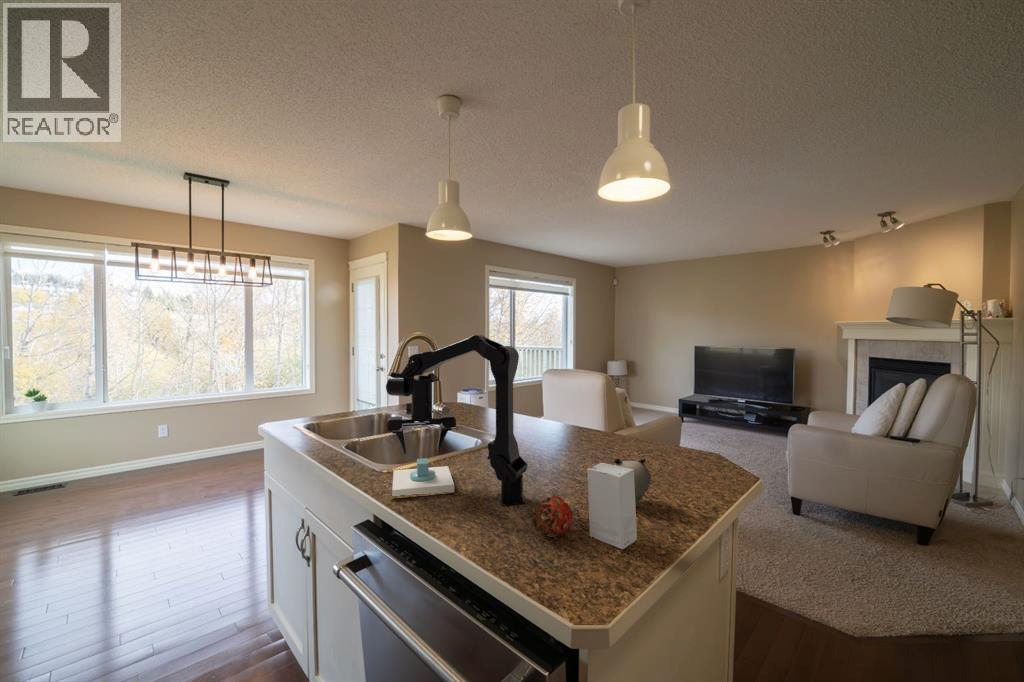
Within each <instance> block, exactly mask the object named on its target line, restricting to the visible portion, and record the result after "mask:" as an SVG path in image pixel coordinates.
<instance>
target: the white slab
mask: <svg viewBox="0 0 1024 682" xmlns="http://www.w3.org/2000/svg"><path fill="white" fill-rule="evenodd" d="M428 468H429V470H433V471H435V478H433V479H432V480H428V481H413V480H411V479H410V473H411V472H413V471H416V470H417V468H409V469H408V468H406V469H396V470H393V475H392V476H393V477H392V490H391V493H392V494H391V497H392V496H400V495H412V494H429V493H442V492H454V493H455V483H454V480H453V477H452V474H451V471H450V468H449V466H448V465H447V466H435V467H428Z"/></svg>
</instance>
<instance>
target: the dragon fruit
mask: <svg viewBox="0 0 1024 682" xmlns="http://www.w3.org/2000/svg"><path fill="white" fill-rule="evenodd" d="M532 515H533V516H534V517H533V519H532V521H531V523H532V526H533V527H536V528H538V531H539V532H540V533H544V534H545V535H546V536H547V537H550V536H551V537H555V536H556V537H558V534H561V535H564V534H569V532H570V530H571V528H570V524H571V523H572V521H573V518H574V517H573V515H574V513H573V510H572V508H571V506H570V505H569V504H568V503H567V502H566V501H565V500H564V499H563V498H562V497H561V496H560V495H558V494H553V495H551V497H550V496H548V497H545V498H544V499H541V501H540V502H539V504H536V505H535V506H534V507H533V511H532ZM551 537H550V538H551ZM556 537H555V538H556Z"/></svg>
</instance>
